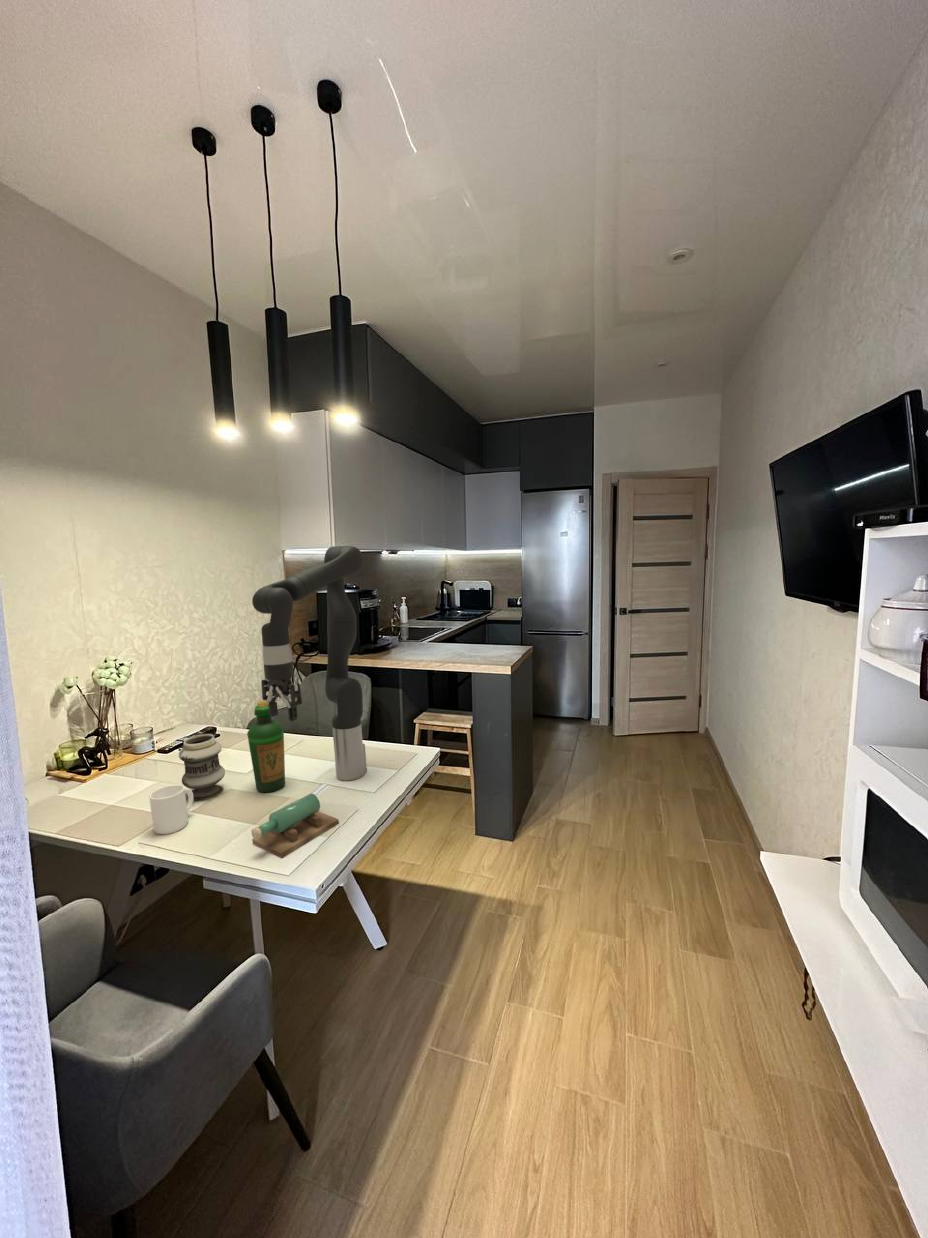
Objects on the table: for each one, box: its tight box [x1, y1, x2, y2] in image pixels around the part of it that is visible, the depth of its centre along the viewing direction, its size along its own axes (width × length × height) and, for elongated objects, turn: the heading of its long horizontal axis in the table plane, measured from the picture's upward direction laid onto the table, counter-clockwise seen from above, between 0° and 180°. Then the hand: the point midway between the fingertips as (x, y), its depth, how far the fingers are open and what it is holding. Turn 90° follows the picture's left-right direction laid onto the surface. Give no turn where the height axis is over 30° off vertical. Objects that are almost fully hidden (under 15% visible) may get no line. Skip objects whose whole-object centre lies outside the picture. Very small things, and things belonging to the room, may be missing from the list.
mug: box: [148, 784, 194, 835], centre depth 138 cm, size 12×8×10 cm
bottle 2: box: [250, 793, 321, 840], centre depth 128 cm, size 18×5×5 cm, turn 146°
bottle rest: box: [251, 810, 340, 859], centre depth 131 cm, size 18×12×4 cm, turn 146°
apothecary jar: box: [178, 733, 226, 802], centre depth 155 cm, size 12×12×18 cm
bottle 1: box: [246, 700, 286, 793], centre depth 157 cm, size 11×11×28 cm
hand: (283, 717), depth 138 cm, fingers open, 8 cm apart
